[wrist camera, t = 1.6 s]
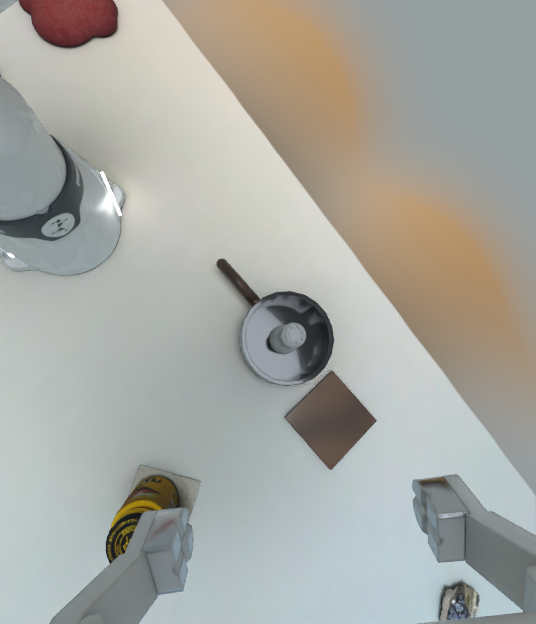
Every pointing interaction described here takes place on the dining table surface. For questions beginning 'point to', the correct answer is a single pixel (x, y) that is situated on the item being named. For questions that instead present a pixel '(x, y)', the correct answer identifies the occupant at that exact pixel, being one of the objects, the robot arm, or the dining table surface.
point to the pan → (305, 357)
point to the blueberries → (459, 603)
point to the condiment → (148, 504)
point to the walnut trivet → (330, 419)
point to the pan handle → (237, 282)
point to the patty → (71, 19)
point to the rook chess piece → (287, 337)
